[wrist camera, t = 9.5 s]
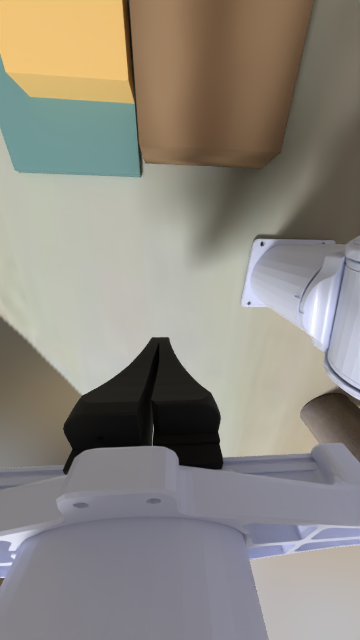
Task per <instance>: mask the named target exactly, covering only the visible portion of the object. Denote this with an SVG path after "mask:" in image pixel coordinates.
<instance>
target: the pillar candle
mask: <svg viewBox="0 0 360 640" xmlns="http://www.w3.org/2000/svg"><path fill="white" fill-rule="evenodd" d="M301 418H302V420H303V421H304V423H305V424H306V426H307V427H308V428H309V430H310V431H311V433H312V434H313V436H314V437H315V438H316V440H317V441H318V443H319V444H329V443H342V444H344V445H345V446H346V447H347V449H348V450H349V451H350V452H351V453H352V454H353V456H354V457H355V458H356V459H357V460H358V462H359V463H360V409H359V408H358V407H357V406H356V405H355V404H354V403H352V402H351V401H350V400H349V398H348V397H347V396H345V395H343V394H337V393H334V394H327V395H323V396H320V397H318V398H315V399H313V400H312V401H310V402H309V403H308V404H307V405H305V406H304V407H303V409H302V411H301Z"/></svg>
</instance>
